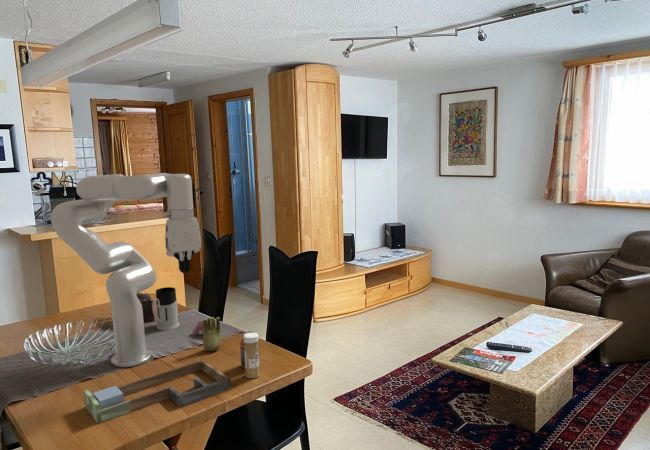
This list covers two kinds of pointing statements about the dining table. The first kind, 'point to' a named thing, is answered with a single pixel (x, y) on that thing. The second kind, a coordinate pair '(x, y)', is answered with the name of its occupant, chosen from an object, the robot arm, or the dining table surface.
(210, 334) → the fennel bulb
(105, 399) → the block
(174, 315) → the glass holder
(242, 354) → the supplement bottle
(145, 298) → the brown storage container
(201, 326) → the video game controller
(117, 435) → the dining table surface
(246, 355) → the sprinkles bottle
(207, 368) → the box
